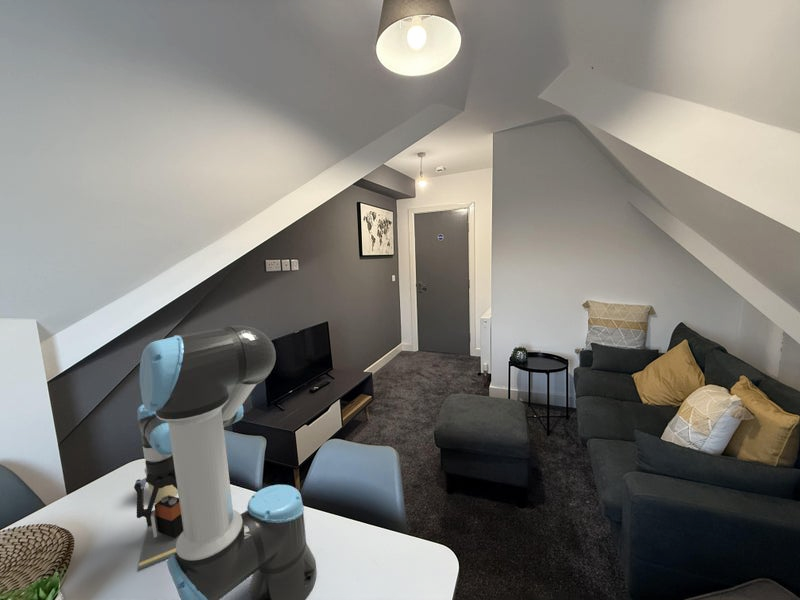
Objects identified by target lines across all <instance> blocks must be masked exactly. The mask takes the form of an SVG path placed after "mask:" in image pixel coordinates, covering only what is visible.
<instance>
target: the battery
mask: <svg viewBox="0 0 800 600" xmlns="http://www.w3.org/2000/svg"><path fill="white" fill-rule="evenodd" d="M153 507H154V510H155V512H156V518H157V524H158V531H159V533H162V534H165V535H167V536H170V537H173V538H175V537H176V536H177V535H179V534H180V533H181V532H182V531H183V524H182V517H181V510H180V503H179V497H176V496H170V495H168V496H165V497H163V498H162V499H161V500H160V501H159V502H158V503H156V502H155V503H154V505H153Z"/></svg>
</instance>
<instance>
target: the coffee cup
mask: <svg viewBox="0 0 800 600" xmlns="http://www.w3.org/2000/svg"><path fill="white" fill-rule="evenodd" d="M144 473H145V476H146V477H147V470H146V466H145V467H144ZM146 477H145V478H146ZM147 485H148V488H149V491H150V494H152V491H153V488H154V486H152V485H151V484H149V483H147ZM168 495H170V496H174V497H176V496H177V495H178V490H177V489H176V487H174V486H173V485H170V486H165V487H163V488H160V489H158V493H157V496H156V499H155V502H154V503H155V504H156V503H158V502H159V501H160V500H161V499H162V498H163V497H165V496H168Z"/></svg>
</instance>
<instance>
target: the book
mask: <svg viewBox="0 0 800 600" xmlns="http://www.w3.org/2000/svg"><path fill="white" fill-rule="evenodd" d="M182 532H183V531H182ZM182 532H181V533H182ZM181 533H180V534H181ZM180 534H179V535H177V536H176V537H175V538H173V537H170V536H167V535H165V534H162V533H159V531H158V536H157V537H155V538H154V535H153V528H152V526H150V527H148V526H147V530H146V533H145V538H144V542H143V546H142V550H141V554H140V558H139V562H138V565H137V572H140V571H143V570H145V569H147V568H149V567H152V566H154V565H155V566H156V565H157V564H159V563H162V562H164V561H165V562H166V561H167V560H168V558H169V557H171V556H172V555H173V554H174V553H176V543H177V540H178V538H179V536H180Z"/></svg>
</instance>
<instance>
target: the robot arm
mask: <svg viewBox="0 0 800 600" xmlns="http://www.w3.org/2000/svg"><path fill="white" fill-rule="evenodd" d="M276 355H277V354H276V349H275V346H274V343H273V342H272V340H271V339H270V338H269V336H267V334H265V333H264V332H262V331H261V330H259V329H257V328H254V327H251V326H247V325H232V326H226V327H223V328H216V329H210V330H209V329H208V330H205V331H197V332H193V333H185V334H179V335H177V334H176V335H173V336H171V337H167V338H163V339H158V340H155V341H152V342H150V343H148V344H147V345H146V346H145V347H144V349H143V351H142V354H141V358H140V363H139V388H140V397H141V401H142V402H141V403H142V404H141V405H140V406H139V407H138V408H137V410H136V411H137V421H138V424H139V431H140V435H141V442H142V449H143V450H142V451H143V456H144V460H145V461H144V463H145V467H146V470H147V477H144V478H143V479H141V478H140V479H137V480H135V483H134V486H133V488H134V490H135V492H136V518H137V519H141V518H142V517H144V518H145V521H146V526H147V528H148V527H150V526H152V528H153V535H154V538H155V537H157V536H158V524H157V518H156V512H155V509H153V508H154V505H155V503H156V502H155V499H156V496H157V493H158V489H160V488H163V487H165V486H170V485H173V486H174V487H176V489H177V490H178V494H177V495H178V498H179V503H180V510H181V517H182V524H183V532H182V533H181V534H180V536H179V538H178V540H177V543H176V553H174V554H173V555H172V556H171V557H169V558H168V559H167V560H166V565H167V569H168V570H169V573H170V576H171V579H172V581H173V583H174V586H175V588H176V591H177V594H178V596H179V598H180V600H221V599H223V598H224V597H225V596H226V595H228V594H229V593H231V591H232V590H234V589H235V588H237V587H238V586H239V585H240V584H242V583H243V582H244V581H246V580H247V579H248V578H249V577H251V578H250V585H249V596H250V597H249V598H250V600H306V599H307V598H308V596H309V595H310V594H311V592H312V590H313V588H314V587H315V583H316V581H317V573H318V572H317V571H318V570H317V563H316V558H315V556H314V554H313V553H312V550H311V548H310V547H309V545H308V543H307V535H306V526H305V524H306V522H305V515H304V511H305V507H304V504H303V499H302V495H301V493H300V491H299V490H298V489H297V488H296V487H294V486H292V485H289V484H274V485H270V486H266V487H263V488H261V489H259V490H258V491H256V492H255V493H254V494H253V495H252V496H251V498H250V499H249V500H248V503H247V508H246V509H247V510H245V511H243V512H242V513H240V512H239V511H238V510H236V509H233V500H232V499H233V498H232V489H231V484H230V483H231V481H230V474H229V471H230V470H229V465H228V456H227V448H226V439H225V427H228V426H232V425H233V424H235V423H237V422H239V421H241V420H242V419H243V417H244V406H243V404H244V403H245V401H246V400H247V398H248V397H249V395H250V394H251V393H252V391H253V389H255V387H256V386H257V385H258V384H259V383H262V382H263V381H265V380H266V379H267V378H268V376H269V375H270V374H271V372H272V370H273V368H274V367H275V364H276V360H277V359H276V358H277V356H276ZM148 483H149V484H151V485H152V486H154V488H153V491H152V494H151V493H150V494H151V496H150V498H149V502H148V505H147V507H146V508H145V487H146V484H148Z"/></svg>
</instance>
